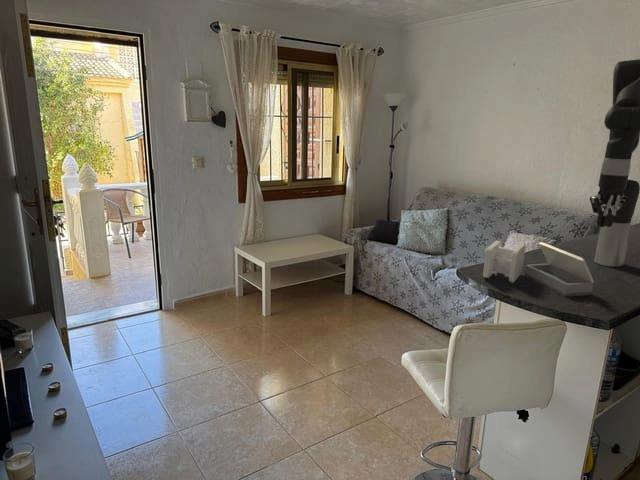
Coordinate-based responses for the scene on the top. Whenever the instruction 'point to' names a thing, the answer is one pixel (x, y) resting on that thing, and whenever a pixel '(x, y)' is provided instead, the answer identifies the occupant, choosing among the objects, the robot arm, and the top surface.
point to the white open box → (558, 280)
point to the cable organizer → (504, 261)
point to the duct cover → (566, 261)
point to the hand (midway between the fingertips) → (604, 226)
